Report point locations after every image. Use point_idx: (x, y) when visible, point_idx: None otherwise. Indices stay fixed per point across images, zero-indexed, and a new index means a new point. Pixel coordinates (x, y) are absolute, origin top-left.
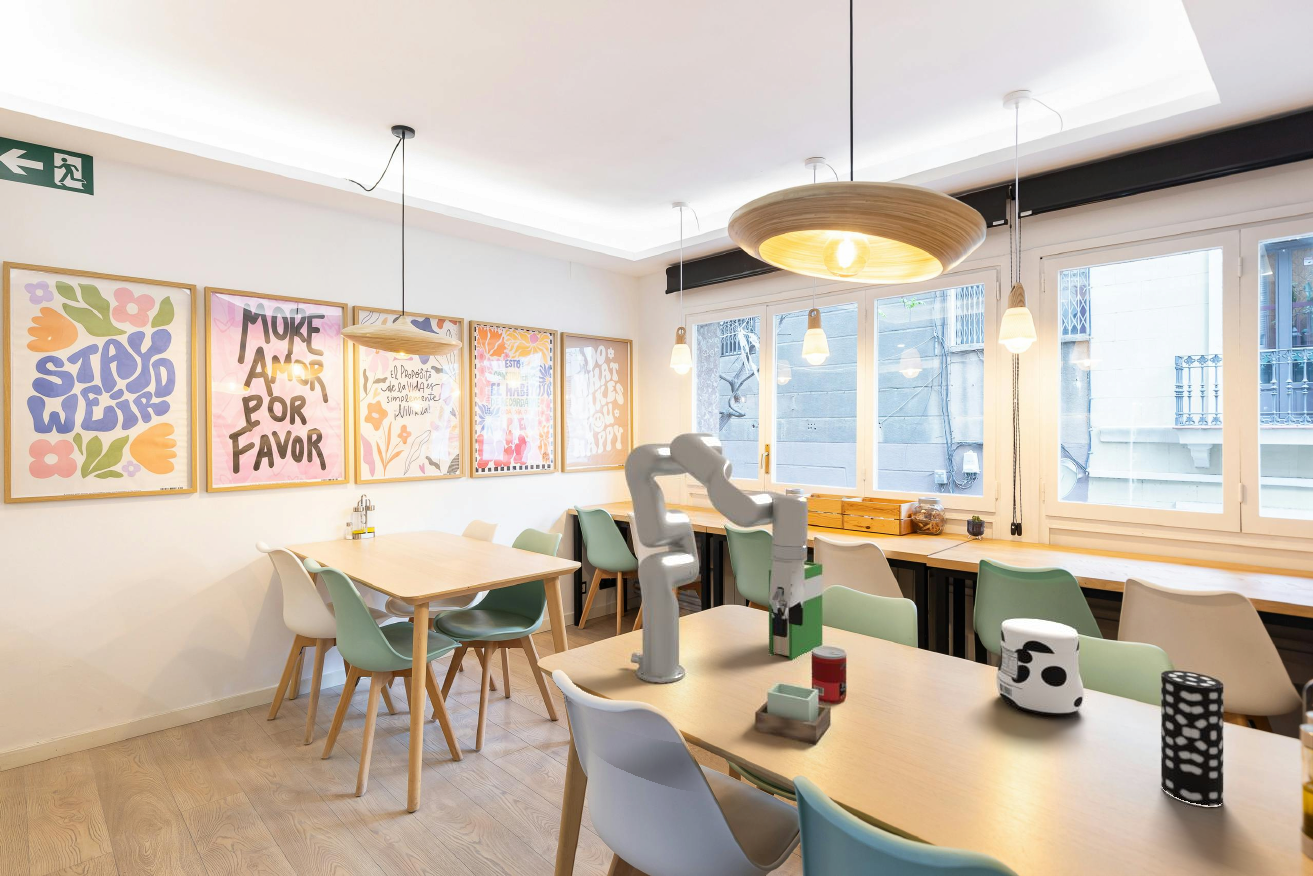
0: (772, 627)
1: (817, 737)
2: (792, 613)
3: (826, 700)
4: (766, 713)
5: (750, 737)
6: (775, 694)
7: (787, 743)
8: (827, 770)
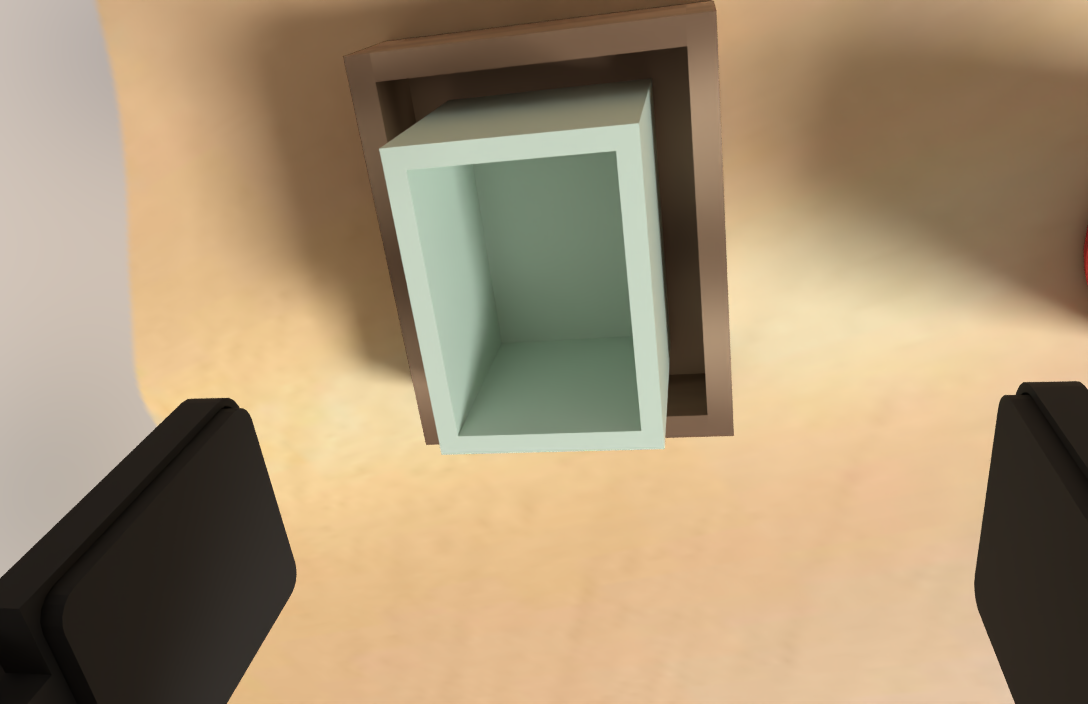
0: (123, 462)
1: None
2: (1078, 602)
3: (1084, 262)
4: (382, 132)
5: (292, 62)
6: (396, 215)
7: (374, 270)
8: (277, 499)
